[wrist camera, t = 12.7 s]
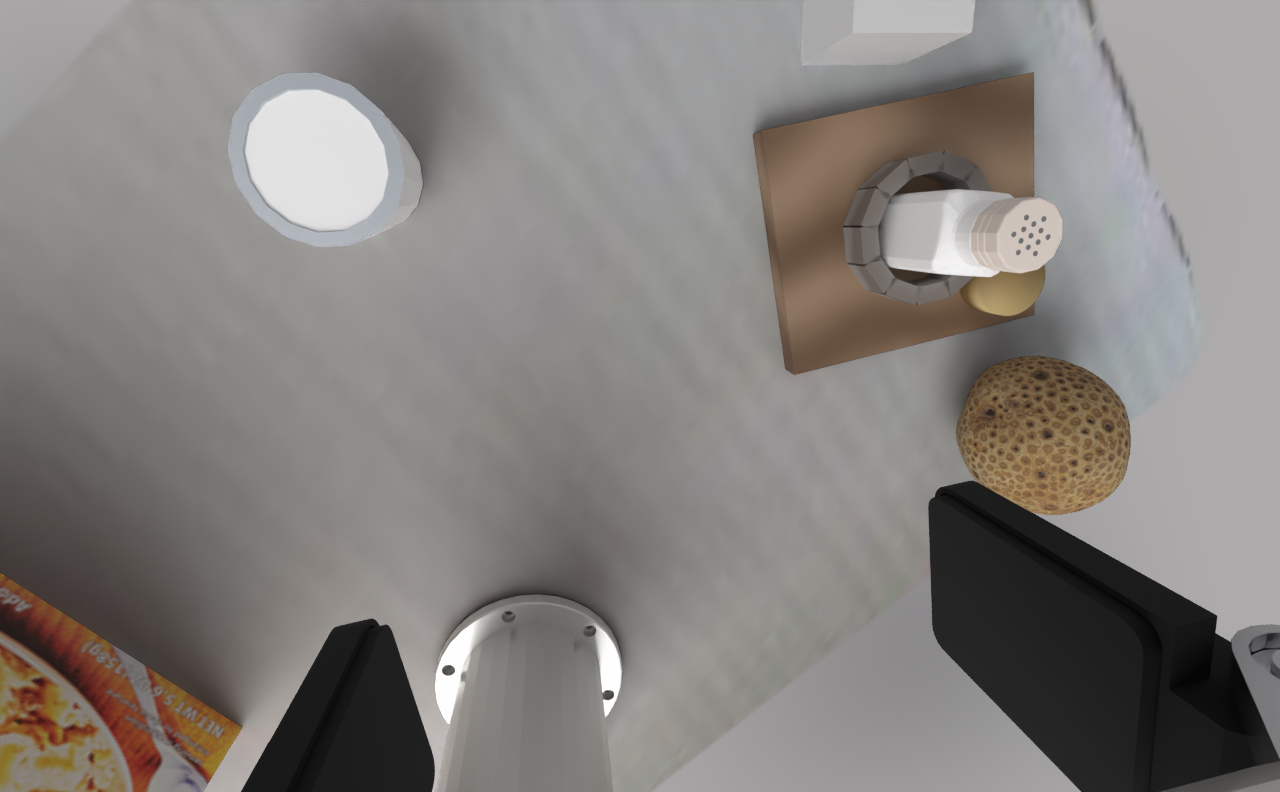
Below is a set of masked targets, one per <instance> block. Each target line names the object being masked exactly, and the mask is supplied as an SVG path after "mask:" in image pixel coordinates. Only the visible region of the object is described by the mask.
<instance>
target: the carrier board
mask: <svg viewBox="0 0 1280 792" xmlns="http://www.w3.org/2000/svg"><path fill="white" fill-rule="evenodd" d="M753 138H754V145H755V153H756V160H757V167H758V174H759V182H760V189H761V196H762V203H763V210H764V218H765V225H766V232H767V239H768V247H769V254H770V261H771V268H772V276H773V283H774V290H775V297H776V304H777V312H778V319H779V326H780V333H781V341H782V348H783V355H784V362H785V369H786V370H788V371H790V372H791V373H793V374H794V375H796V374H800V373H804V372H808V371H812V370H816V369H820V368H824V367H828V366H832V365H836V364H840V363H844V362H848V361H852V360H856V359H860V358H864V357H868V356H872V355H876V354H880V353H884V352H888V351H892V350H896V349H900V348H904V347H908V346H912V345H916V344H920V343H924V342H928V341H932V340H936V339H940V338H944V337H948V336H952V335H956V334H960V333H964V332H968V331H972V330H976V329H980V328H984V327H988V326H992V325H996V324H1000V323H1004V322H1008V321H1012V320H1016V319H1020V318H1024V317H1028V316H1032V315H1034V302H1035V301H1036V299H1037V298H1038V296H1039V295H1040V293H1041V291H1042V288H1043V285H1044V281H1045V267H1044V265H1043V266H1042V267H1040V268H1039V269H1038V270H1033V271H1029V272H1024V273H1012V272H1003V271H1000V272H999V273H998V274H996V275H994V276H992V277H976V276H960V275H945V274H935V273H927V272H920V271H912V270H904V269H896V268H889V267H887V266H886V264H885V263H884V261H883V260H882V259H881V257H880V247H879V235H878V229H879V224H880V221H881V219H882V216H883V214H884V211H885V209H886V206H887V204H888V201H889V199H890V197H891V196H892V195H895V194H906V193H918V192H930V191H941V190H953V189H962V190H977V191H989V192H999V193H1007V194H1010V195H1011V196H1013V197H1014V198H1026V197H1034V72H1033V73H1028V74H1023V75H1019V76H1014V77H1009V78H1005V79H1000V80H995V81H991V82H986V83H981V84H977V85H972V86H967V87H963V88H958V89H953V90H949V91H944V92H940V93H935V94H930V95H926V96H921V97H916V98H912V99H907V100H902V101H898V102H893V103H888V104H884V105H879V106H874V107H870V108H865V109H860V110H856V111H851V112H846V113H842V114H837V115H832V116H828V117H823V118H818V119H814V120H809V121H804V122H800V123H795V124H790V125H786V126H781V127H776V128H772V129H767V130H763V131H760V132H758V133H755V134H753Z"/></svg>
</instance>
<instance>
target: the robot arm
mask: <svg viewBox="0 0 1280 792" xmlns="http://www.w3.org/2000/svg"><path fill="white" fill-rule="evenodd" d="M929 537H930V567H931V596H932V625H933V631H934V635H935V637H936V639H937V641H938V643H939V645H940V646H941V647H942V649H943V650H944V651H945V652H946V653H947V654H948V655H949V656H950V657H951V658H952V659H953V660H954V661H955V662H956V663H957V664H958V665H959V666H960V667H961V668H962V669H963V670H964V672H965V673H967V675H968V676H970V678H971V679H972V680H973V681H974V682H975V683H976V684H977V685H978V686H979V687H980V688H981V689H982V690H983V691H984V692H985V693H986V694H987V695H988V696H989V697H990V698H991V699H992V700H993V701H994V702H995V703H996V704H997V705H998V706H999V707H1000V708H1001V710H1002V711H1003V712H1004V713H1005V714H1006V715H1007V716H1008V717H1009V718H1010V719H1011V720H1012V721H1013V722H1014V723H1015V724H1016V725H1017V726H1018V727H1019V728H1020V729H1021V730H1022V731H1023V732H1024V733H1025V734H1026V735H1027V736H1028V737H1029V738H1030V739H1031V740H1032V741H1033V742H1034V743H1035V744H1036V746H1038V748H1039V749H1040V750H1041V751H1042V752H1043V753H1044V754H1045V755H1046V756H1047V757H1048V758H1049V759H1050V760H1051V761H1052V762H1053V763H1054V764H1055V765H1056V766H1057V767H1058V768H1059V769H1060V770H1061V771H1062V772H1063V773H1064V774H1065V775H1066V776H1067V777H1068V778H1069V779H1070V780H1071V782H1073V783H1074V785H1075V786H1076V787H1077V788H1078V789H1079V790H1080V791H1081V792H1280V625H1271V624H1270V625H1257V626H1250V627H1247V628H1245V629H1242V630H1239V631H1238V632H1237V633H1236V634H1235V635H1234V636H1233V638H1232V639H1231V642H1230V641H1228V640H1226V639H1224V638H1223V637H1221V636H1219V635H1217V634H1216V633H1215V630H1216V622H1217V616H1216V615H1215V614H1213V613H1211V612H1209V611H1208V610H1206V609H1204V608H1202V607H1201V606H1198V605H1197V604H1195V603H1193V602H1191V601H1190V600H1188V599H1186V598H1184V597H1183V596H1181V595H1179V594H1177V593H1175V592H1173V591H1172V590H1170V589H1168V588H1166V587H1164V586H1163V585H1161V584H1159V583H1157V582H1156V581H1154V580H1152V579H1150V578H1148V577H1147V576H1145V575H1143V574H1141V573H1139V572H1137V571H1136V570H1134V569H1132V568H1130V567H1129V566H1127V565H1125V564H1123V563H1121V562H1120V561H1118V560H1116V559H1114V558H1112V557H1110V556H1109V555H1107V554H1105V553H1103V552H1102V551H1100V550H1098V549H1096V548H1094V547H1093V546H1091V545H1089V544H1087V543H1086V542H1084V541H1082V540H1080V539H1078V538H1076V537H1075V536H1073V535H1071V534H1069V533H1068V532H1066V531H1064V530H1062V529H1060V528H1059V527H1057V526H1055V525H1053V524H1051V523H1050V522H1048V521H1046V520H1044V519H1042V518H1040V517H1039V516H1037V515H1035V514H1033V513H1032V512H1030V511H1028V510H1026V509H1024V508H1023V507H1021V506H1019V505H1017V504H1015V503H1014V502H1012V501H1010V500H1008V499H1006V498H1005V497H1003V496H1001V495H999V494H997V493H996V492H994V491H992V490H990V489H988V488H987V487H985V486H983V485H981V484H980V483H978V482H975V481H967V482H962V483H958V484H954V485H949V486H945V487H941V488H939V489H938V490H937V492H936V494H935V497H934V498H932V499H931V500H930V502H929ZM622 676H623V668H622V660H621V654H620V650H619V647H618V643H617V641H616V639H615V637H614V635H613V633H612V631H611V629H610V628H609V627H608V626H607V625H606V624H605V622H604V621H603V620H602V619H601V618H600V617H599V616H597V615H596V614H595V613H593V612H592V611H591V610H590V609H588V608H586V607H584V606H582V605H580V604H578V603H576V602H574V601H571V600H568V599H564V598H561V597H557V596H549V595H540V594H536V595H520V596H515V597H511V598H506V599H502V600H499V601H497V602H494V603H492V604H489V605H487V606H485V607H483V608H481V609H480V610H478V611H476V612H475V613H473V614H472V615H470V616H469V617H468V618H466V619H465V620H464V621H463V622H462V623H461V624H460V625H459V626H458V627H456V629H455V630H454V631H453V633H452V634H451V635H450V637H449V638H448V639H447V641H446V643H445V645H444V647H443V649H442V651H441V654H440V656H439V660H438V663H437V667H436V671H435V681H434V690H435V697H436V702H437V704H438V707H439V709H440V712H441V714H442V716H443V717H444V719H445V720H446V722H447V723H448V725H449V728H448V733H447V738H446V743H445V748H444V753H443V757H442V762H441V767H440V772H439V777H438V782H437V787H436V792H613V783H612V774H611V765H610V756H609V747H608V738H607V729H606V720H605V718H606V717H607V716H608V714H609V713H610V712H611V710H612V708H613V706H614V704H615V703H616V701H617V699H618V696H619V692H620V689H621V686H622ZM434 775H435V767H434V758H433V754H432V751H431V748H430V745H429V742H428V739H427V735H426V732H425V729H424V726H423V723H422V720H421V717H420V714H419V711H418V708H417V705H416V702H415V699H414V696H413V693H412V690H411V687H410V684H409V681H408V678H407V675H406V672H405V669H404V666H403V663H402V660H401V657H400V654H399V651H398V648H397V645H396V642H395V639H394V636H393V633H392V630H391V628H390V627H389V626H388V625H383V626H379V624H378V622H377V621H376V620H375V619H368V620H363V621H359V622H354V623H350V624H346V625H341V626H337V627H335V628H334V629H333V630H332V631H331V633H330V634H329V636H328V638H327V640H326V642H325V643H324V645H323V647H322V649H321V651H320V652H319V654H318V656H317V658H316V660H315V661H314V663H313V665H312V667H311V668H310V670H309V672H308V674H307V676H306V677H305V679H304V681H303V683H302V685H301V686H300V688H299V690H298V692H297V694H296V695H295V697H294V699H293V701H292V702H291V704H290V706H289V708H288V710H287V711H286V713H285V715H284V717H283V719H282V720H281V722H280V724H279V726H278V728H277V729H276V731H275V733H274V735H273V736H272V738H271V740H270V741H269V743H268V744H267V746H266V748H265V750H264V752H263V753H262V755H261V757H260V759H259V761H258V762H257V764H256V766H255V768H254V769H253V771H252V773H251V775H250V777H249V778H248V780H247V782H246V784H245V786H244V787H243V789H242V791H241V792H432V788H433V783H434Z"/></svg>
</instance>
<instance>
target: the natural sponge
mask: <svg viewBox="0 0 1280 792" xmlns="http://www.w3.org/2000/svg"><path fill="white" fill-rule="evenodd" d="M956 437H957V443H958V446H959V449H960V452H961V454H962V457H963V459H964V462H965V464H966V466H967V468H968V469H969V471H970V472H971V474H972V476H973V477H974V478H975V480H976V481H977V482H978V483H980V484H981V485H983V486H985V487H987V488H988V489H990V490H992V491H994V492H996V493H997V494H999V495H1001V496H1003V497H1005V498H1006V499H1008V500H1010V501H1012V502H1014V503H1015V504H1017V505H1019V506H1021V507H1023V508H1024V509H1026V510H1028V511H1030V512H1034V513H1039V514H1044V515H1061V514H1067V513H1072V512H1077V511H1080V510H1083V509H1086V508H1089V507H1091V506H1093V505H1095V504H1096V503H1099V502H1101V501H1103V500H1104V499H1106V498H1107V497H1108V496H1109V495H1110V494H1112V493H1113V492H1114V491H1115V489H1116V488H1117V487H1118V485H1119V484H1120V483H1121V481H1122V480H1123V478H1124V475H1125V473H1126V470H1127V465H1128V460H1129V455H1130V441H1131V440H1130V439H1131V436H1130V424H1129V419H1128V416H1127V413H1126V410H1125V406H1124V404H1123V402H1122V401H1121V399H1120V397H1119V396H1118V395H1117V394H1116V393H1115V392H1114V391H1113V389H1112V388H1111V387H1110V386H1109V385H1108V384H1107V383H1105V382H1104V381H1103V380H1102V379H1100V378H1099V377H1098V376H1096V375H1095V374H1093V373H1091V372H1090V371H1088V370H1086V369H1084V368H1082V367H1079V366H1076V365H1073V364H1071V363H1069V362H1066V361H1063V360H1058V359H1054V358H1049V357H1042V356H1026V357H1019V358H1014V359H1010V360H1006V361H1004V362H1001V363H998V364H995V365H993V366H991V367H989V368H988V369H986V370H985V371H984V372H983V373H982V374H981V375H980V376H979V377H978V379H977V380H976V381H975V383H974V385H973V387H972V389H971V390H970V393H969V395H968V398H967V401H966V404H965V406H964V409H963V411H962V413H961V415H960V417H959V420H958V422H957V429H956Z"/></svg>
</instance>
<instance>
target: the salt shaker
mask: <svg viewBox="0 0 1280 792" xmlns="http://www.w3.org/2000/svg"><path fill="white" fill-rule="evenodd" d="M878 235H879V247H880V257H881V259H882V260H883V261H884V263H885V264H886V266H887V267H889V268H896V269H904V270H912V271H920V272H927V273H935V274H945V275H960V276H976V277H992V276H994V275H996V274H998V273H999V272H1000V271H1003V272H1012V273H1024V272H1029V271H1033V270H1038V269H1039V268H1040V267H1042V266H1043V265H1044V264H1045V263H1046V262H1048V261H1049V260H1050V259H1051V258H1052V257H1053V256H1054V254H1055V252H1056V250H1057V248H1058V246H1059V244H1060V242H1061V240H1062V236H1063V218H1062V216H1061V215H1060V213H1059V211H1058V209H1057V207H1056V206H1055V204H1054V203H1052V202H1050V201H1047V200H1045V199H1043V198H1040V197H1026V198H1014V197H1013V196H1011V195H1010V194H1007V193H999V192H989V191H977V190H962V189H953V190H941V191H930V192H918V193H906V194H895V195H892V196H891V197H890V199H889V201H888V204H887V206H886V209H885V211H884V214H883V216H882V219H881V221H880V224H879V229H878Z"/></svg>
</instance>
